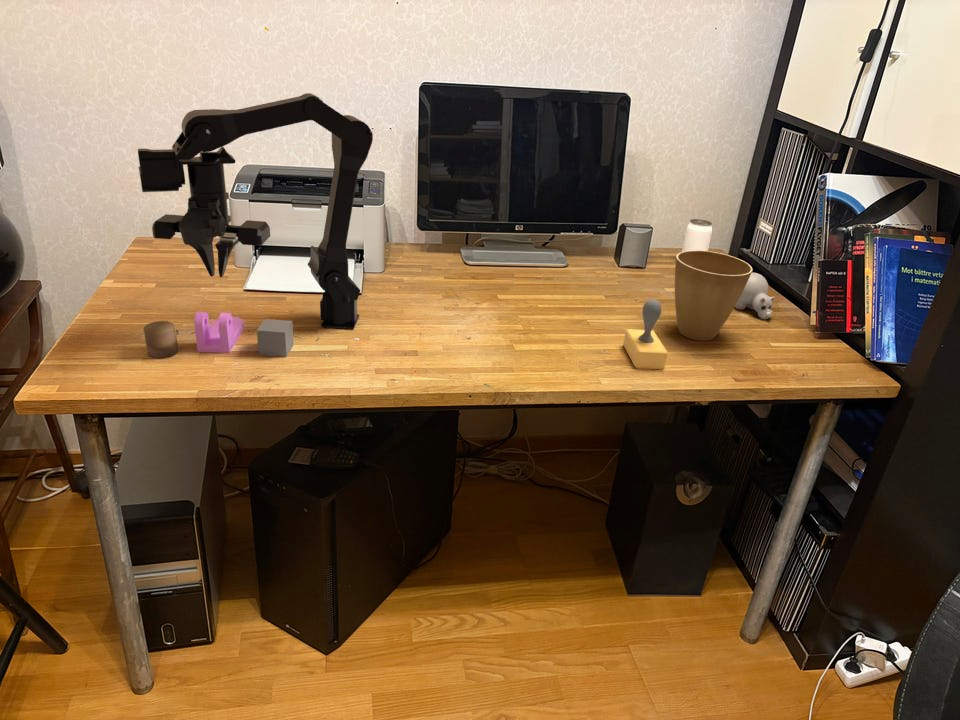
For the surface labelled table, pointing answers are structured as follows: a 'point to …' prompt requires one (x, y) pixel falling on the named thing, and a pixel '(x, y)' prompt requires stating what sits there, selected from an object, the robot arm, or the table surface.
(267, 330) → the grey cube
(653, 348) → the rubber stamp
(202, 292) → the table surface
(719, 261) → the plant pot
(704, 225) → the can
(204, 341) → the bracket
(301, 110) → the robot arm
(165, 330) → the walnut cylinder
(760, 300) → the chubby cartoon animal
